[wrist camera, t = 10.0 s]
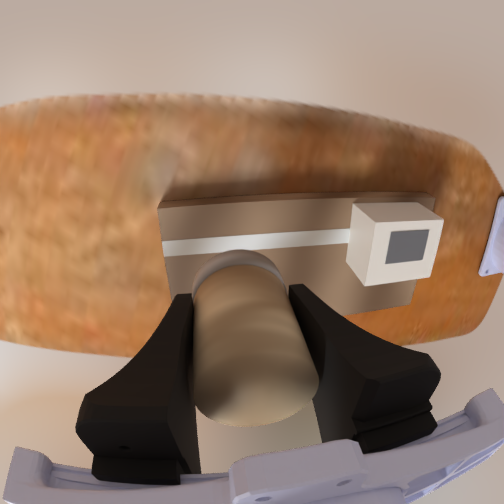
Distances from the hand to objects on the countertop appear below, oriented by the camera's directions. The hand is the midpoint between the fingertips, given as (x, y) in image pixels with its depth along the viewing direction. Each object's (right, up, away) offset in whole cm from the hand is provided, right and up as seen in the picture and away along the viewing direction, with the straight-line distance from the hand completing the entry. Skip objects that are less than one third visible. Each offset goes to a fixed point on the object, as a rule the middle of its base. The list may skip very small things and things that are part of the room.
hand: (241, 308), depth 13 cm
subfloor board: (+4, +2, +8) cm, 9 cm away
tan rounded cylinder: (0, +1, +1) cm, 2 cm away
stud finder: (+9, +4, +6) cm, 12 cm away
